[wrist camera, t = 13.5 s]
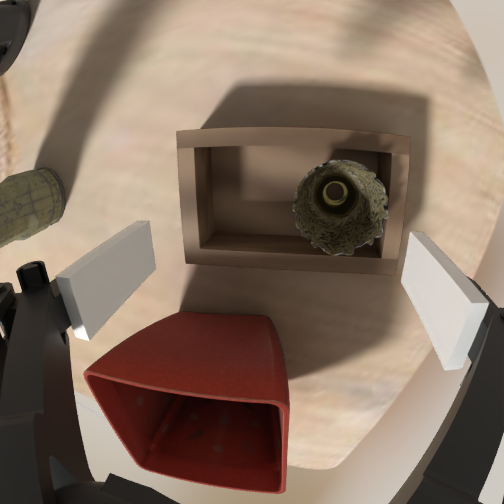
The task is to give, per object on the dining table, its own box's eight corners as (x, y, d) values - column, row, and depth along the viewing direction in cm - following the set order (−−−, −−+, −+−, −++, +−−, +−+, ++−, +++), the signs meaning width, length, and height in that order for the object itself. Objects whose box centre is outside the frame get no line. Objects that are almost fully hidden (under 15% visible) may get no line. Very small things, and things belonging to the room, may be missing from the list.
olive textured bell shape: (315, 238, 31) (315, 269, 24) (285, 173, 29) (276, 185, 22) (381, 211, 29) (401, 235, 21) (353, 143, 27) (367, 145, 20)
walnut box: (198, 130, 30) (176, 131, 25) (391, 135, 27) (410, 136, 21) (204, 242, 35) (185, 263, 29) (381, 251, 32) (394, 275, 26)
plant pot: (299, 292, 35) (290, 404, 20) (296, 399, 42) (285, 495, 27) (151, 286, 39) (78, 369, 23) (178, 387, 46) (139, 468, 30)
